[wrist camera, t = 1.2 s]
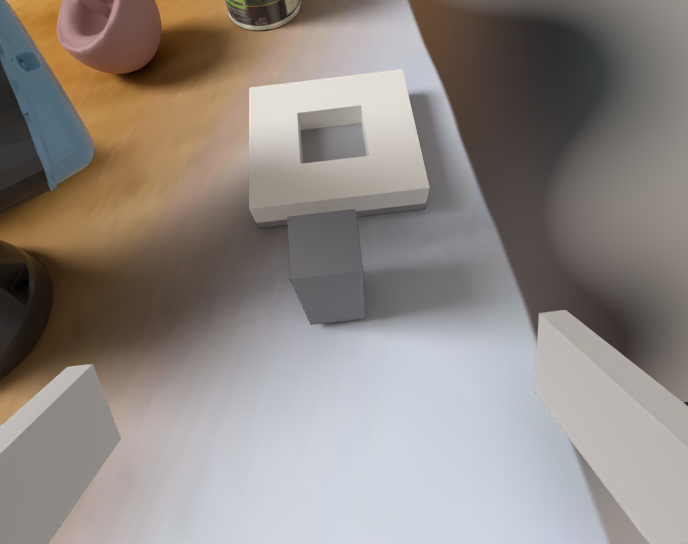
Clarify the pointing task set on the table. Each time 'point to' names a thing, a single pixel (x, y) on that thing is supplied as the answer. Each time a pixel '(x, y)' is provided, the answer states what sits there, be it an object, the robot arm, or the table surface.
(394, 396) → the table surface
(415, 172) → the socket
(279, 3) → the coffee can
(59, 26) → the mortar and pestle
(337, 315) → the plug
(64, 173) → the robot arm
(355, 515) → the table surface
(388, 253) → the table surface
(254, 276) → the table surface
